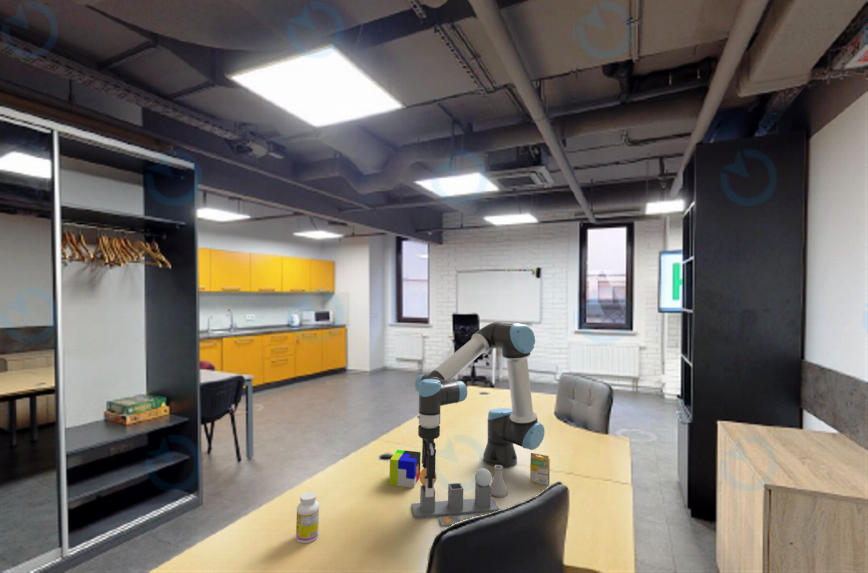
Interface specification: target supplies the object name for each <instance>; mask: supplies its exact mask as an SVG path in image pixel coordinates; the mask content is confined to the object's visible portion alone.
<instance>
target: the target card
mask: <svg viewBox="0 0 868 573" xmlns="http://www.w3.org/2000/svg"><path fill="white" fill-rule="evenodd" d="M476 516H480V517H481V515H480V514H469V515H457V516H445V517H438V520H439V524H440V527H441V526H443V527H451V526H450V525H452V524H455V523H457V522H460V521H463V520H466V519H470V518H472V517H476ZM443 527H442V528H443Z"/></svg>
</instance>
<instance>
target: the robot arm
mask: <svg viewBox="0 0 868 573" xmlns="http://www.w3.org/2000/svg"><path fill="white" fill-rule="evenodd" d="M535 337H536V336H535V332H534V331H533V329H532V328H531V327H530V326H528V325H527V324H524V323H523V324H522V323H519V322H503V321H495V322H490V323H489V324H487V325H485V326H483V327H481V328H480V329H478V330H477V331H476V332H475V333H473V334H472V335H471V339H470V340H468V341H467V342H466V343H465V344H464V345H462V346H461V347H460V348H458V350H456V351H455V352H453V354H452V355H450V356H449V357H447V359H445V360H444V361H443V362H442V363H440V364H439V365H438V366H437V367H436V368H434V369H433V370H432V371H431V372H429V373H428V374H419V375H418V376H417V377H416V379H415V381H414V387H415V390H416V391H417V393H418V415H416V417H417V419H418V428H417V429H418V430H417V431H418V432H417V435H418V437H419V438H421V439H422V442H421V444H422V446H421V448H422V449H421V453H422V454H421V464H422V470H423V469H424V468H426V474H427V476H424V478H425V479H426V488H425V497H434V489H435V486H434V485H435V483H434V479H435V472H436V455H437V450H436V442H435V439H438V438H439V437H440V435H441V433H440V432H441V426H440V425H441V406H447V405H451V404H458V403H461V402H464V401H465V400H466V399H467V397H468V388H467V386H466V383H464V382H463V381H462V380H454V381H452V380H453V379H454V378H455V377H457V376H458V375H459V374H460V373H461V372H462V371H464V370H465V369H466V368H467V367H468V366H469V365H470V364H472V363H473V362H474V361H475V360H476V359H477V358H478V357H480V356H481V355H482V354H486V353H488V352H489V351H491V350H493V349H498V350H501V353H502V357H503V359H505V360H506V365H507V375H508V384H509V392H510V400H511V402H510V403H511V408H505V407H504V408H503V407H499V408H493V409H491V410H489V411H488V413H487V414H488V415H487V416H488V417H487V443H486V445H485V449H484V451H483V454H482V455H483V456H482V457H483V458H482V459H483V462H484V463H486V464H487V465H489V466H492V467H494V466H495V465H501V466H502V467H503V468H510V467H513V466H515V465H517V463H518V457H517V452H516V449H515V446H514V445H516V446H519V447H521V448H523V449H525V450H531V451H534V450H536V449H537V448H539V447H540V445H541V444H542V442H543V440H544V437H545V430H546V429H545V426H544V424H542V423H541V422H539V420H538V415H537V413H536V412H535V411H534V410H533V400H532V391H531V380H530V372H529V371H530V370H529V363H528V358H529V357H530V356H531V352H532V351H533V350H534V348H535V344H536V338H535ZM421 486H423V484H422V483H421Z"/></svg>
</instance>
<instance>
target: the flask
mask: <svg viewBox="0 0 868 573" xmlns="http://www.w3.org/2000/svg"><path fill="white" fill-rule="evenodd" d="M493 467H494V474H493V475H494V476H493V478H492V480H491V482H490V486H491V496H494V497H495V498H496V497H498V498H500V497H501V498H502V497H503V498H504V497H506V496H507V495H508V491H507V488H506V484H505V482H504V478H503V468H504V467H502V466H501V465H495V466H493Z"/></svg>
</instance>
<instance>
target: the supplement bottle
mask: <svg viewBox="0 0 868 573" xmlns="http://www.w3.org/2000/svg"><path fill="white" fill-rule="evenodd" d="M299 501H300V502H299V504H297V506H296V524H295V525H296V526H295V528H296V529H295V530H296V531H295V533H296V534H295V538H296V541H297V542H299V543H300V544H309V543H313V542H314V541H315V540H317V538H318V537H319V531H320V503H319V502H318V501H317V494H316V493H315V492H314V491H308V492H303V493H301V495H300V499H299Z"/></svg>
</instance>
